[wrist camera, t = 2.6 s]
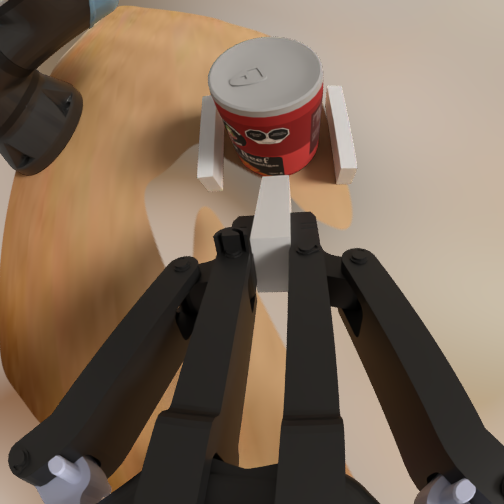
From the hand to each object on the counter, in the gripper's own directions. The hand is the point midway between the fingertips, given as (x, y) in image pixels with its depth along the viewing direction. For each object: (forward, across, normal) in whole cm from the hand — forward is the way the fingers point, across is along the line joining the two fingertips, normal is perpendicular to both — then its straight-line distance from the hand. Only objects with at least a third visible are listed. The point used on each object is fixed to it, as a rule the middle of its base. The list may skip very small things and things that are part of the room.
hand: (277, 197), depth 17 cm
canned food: (+13, 0, 0) cm, 13 cm away
